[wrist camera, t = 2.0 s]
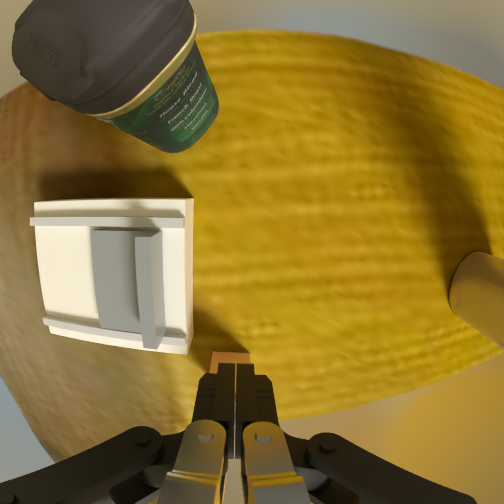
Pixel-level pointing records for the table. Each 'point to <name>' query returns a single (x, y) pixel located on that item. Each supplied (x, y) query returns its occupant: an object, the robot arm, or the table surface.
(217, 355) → the plug
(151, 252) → the shutter
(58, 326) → the socket
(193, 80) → the coffee jar
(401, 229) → the table surface
